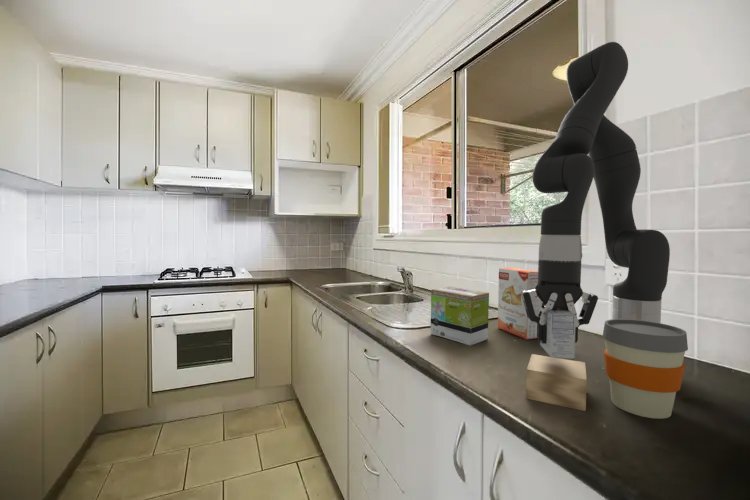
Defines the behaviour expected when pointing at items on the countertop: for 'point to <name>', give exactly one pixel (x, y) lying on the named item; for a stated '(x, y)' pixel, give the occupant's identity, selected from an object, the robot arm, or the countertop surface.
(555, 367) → the oak block
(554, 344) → the medicine box
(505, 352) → the countertop surface
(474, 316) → the tea box
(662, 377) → the reusable coffee cup
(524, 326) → the cracker box
